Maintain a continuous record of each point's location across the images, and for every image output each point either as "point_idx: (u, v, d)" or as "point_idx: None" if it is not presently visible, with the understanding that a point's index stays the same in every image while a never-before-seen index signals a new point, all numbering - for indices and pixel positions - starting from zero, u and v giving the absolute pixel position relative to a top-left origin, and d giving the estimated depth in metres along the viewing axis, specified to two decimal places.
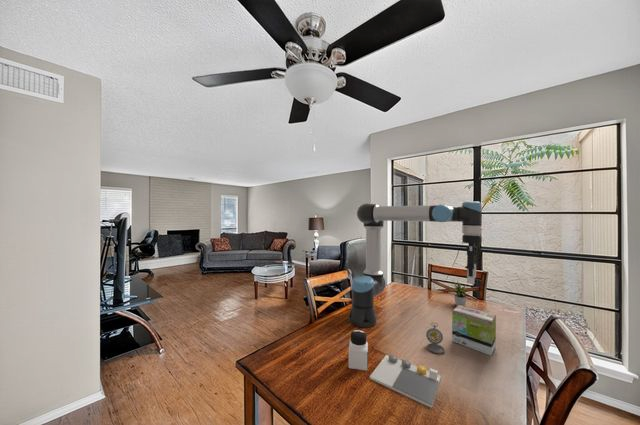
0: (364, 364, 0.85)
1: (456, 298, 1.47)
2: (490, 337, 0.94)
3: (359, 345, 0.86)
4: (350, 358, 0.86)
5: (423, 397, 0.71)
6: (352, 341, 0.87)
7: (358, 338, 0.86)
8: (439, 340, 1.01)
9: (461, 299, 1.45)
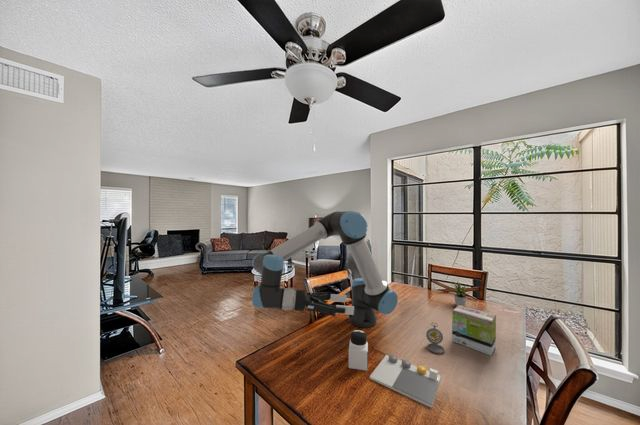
0: (364, 364, 0.85)
1: (456, 298, 1.47)
2: (490, 337, 0.94)
3: (359, 345, 0.86)
4: (350, 358, 0.86)
5: (423, 397, 0.71)
6: (352, 341, 0.87)
7: (358, 338, 0.86)
8: (439, 340, 1.01)
9: (461, 299, 1.45)
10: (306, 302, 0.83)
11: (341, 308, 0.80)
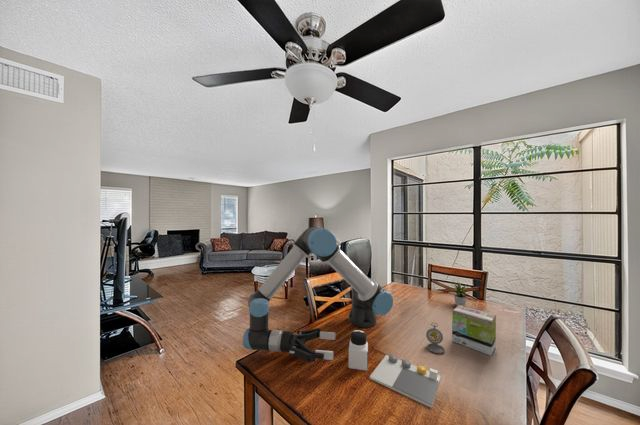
0: (364, 364, 0.85)
1: (456, 298, 1.47)
2: (490, 337, 0.95)
3: (359, 345, 0.86)
4: (350, 358, 0.86)
5: (423, 397, 0.71)
6: (352, 341, 0.87)
7: (358, 338, 0.86)
8: (439, 340, 1.01)
9: (461, 299, 1.45)
10: (290, 345, 0.88)
11: (320, 354, 0.83)
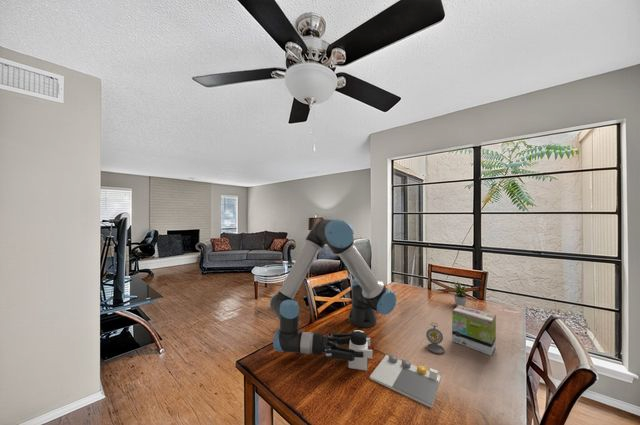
0: (364, 364, 0.85)
1: (456, 298, 1.47)
2: (490, 337, 0.94)
3: (359, 345, 0.86)
4: None
5: (423, 397, 0.71)
6: (352, 341, 0.87)
7: (358, 338, 0.86)
8: (439, 340, 1.01)
9: (461, 299, 1.45)
10: (322, 348, 0.87)
11: (359, 352, 0.84)
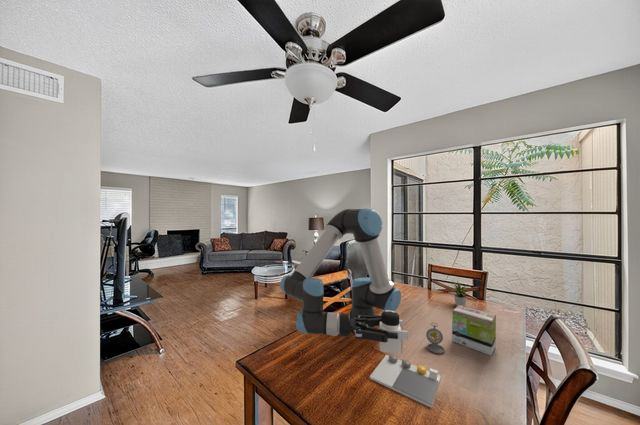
0: (398, 346, 0.76)
1: (456, 298, 1.47)
2: (490, 337, 0.94)
3: (392, 326, 0.77)
4: None
5: (423, 397, 0.71)
6: (384, 321, 0.79)
7: (391, 318, 0.77)
8: (439, 340, 1.01)
9: (461, 299, 1.45)
10: (351, 328, 0.78)
11: (393, 333, 0.75)
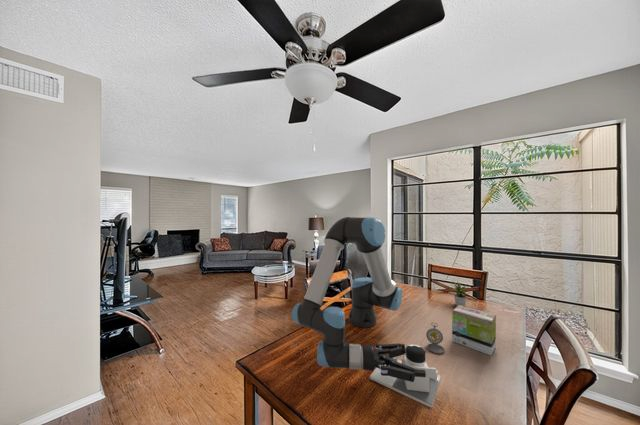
0: (426, 385, 0.73)
1: (456, 298, 1.47)
2: (490, 337, 0.94)
3: (419, 363, 0.74)
4: None
5: (423, 397, 0.71)
6: (409, 358, 0.75)
7: (417, 355, 0.74)
8: (439, 340, 1.01)
9: (461, 299, 1.45)
10: (376, 363, 0.75)
11: (420, 371, 0.71)
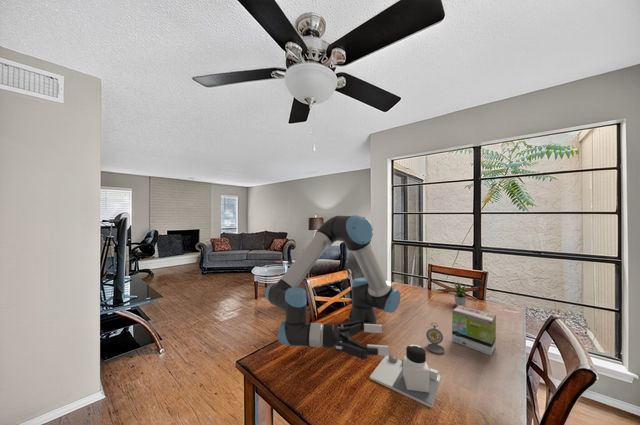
0: (426, 385, 0.73)
1: (456, 298, 1.47)
2: (490, 337, 0.94)
3: (419, 363, 0.74)
4: (409, 378, 0.74)
5: (423, 397, 0.71)
6: (410, 358, 0.75)
7: (418, 355, 0.74)
8: (439, 340, 1.01)
9: (461, 299, 1.45)
10: (334, 340, 0.76)
11: (373, 349, 0.71)
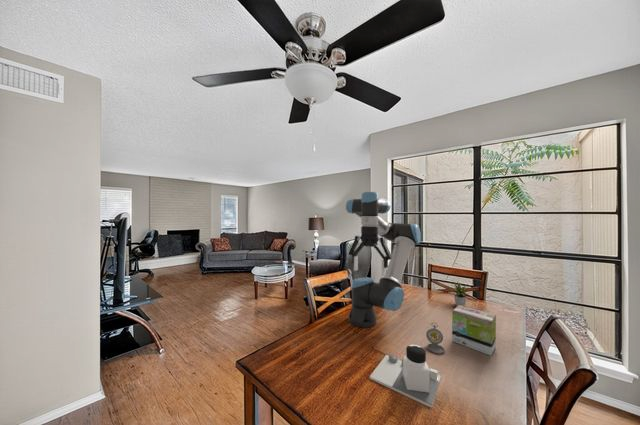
0: (426, 385, 0.73)
1: (456, 298, 1.47)
2: (490, 337, 0.95)
3: (419, 363, 0.74)
4: (409, 378, 0.74)
5: (423, 397, 0.71)
6: (410, 358, 0.75)
7: (418, 355, 0.74)
8: (439, 340, 1.01)
9: (461, 299, 1.45)
10: (377, 235, 1.02)
11: None
